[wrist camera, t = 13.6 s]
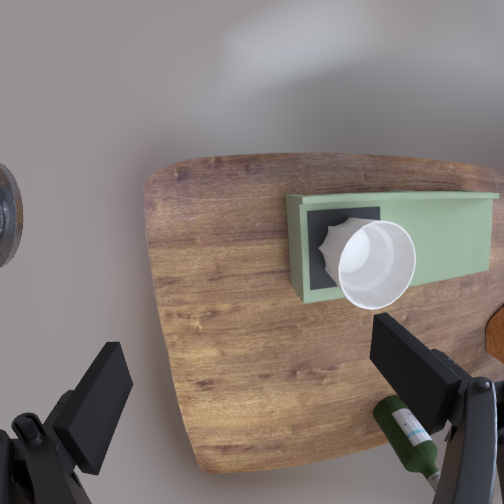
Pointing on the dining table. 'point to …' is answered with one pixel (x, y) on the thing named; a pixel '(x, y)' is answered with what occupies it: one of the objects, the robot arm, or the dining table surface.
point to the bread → (496, 335)
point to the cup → (369, 260)
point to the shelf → (403, 214)
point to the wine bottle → (408, 438)
